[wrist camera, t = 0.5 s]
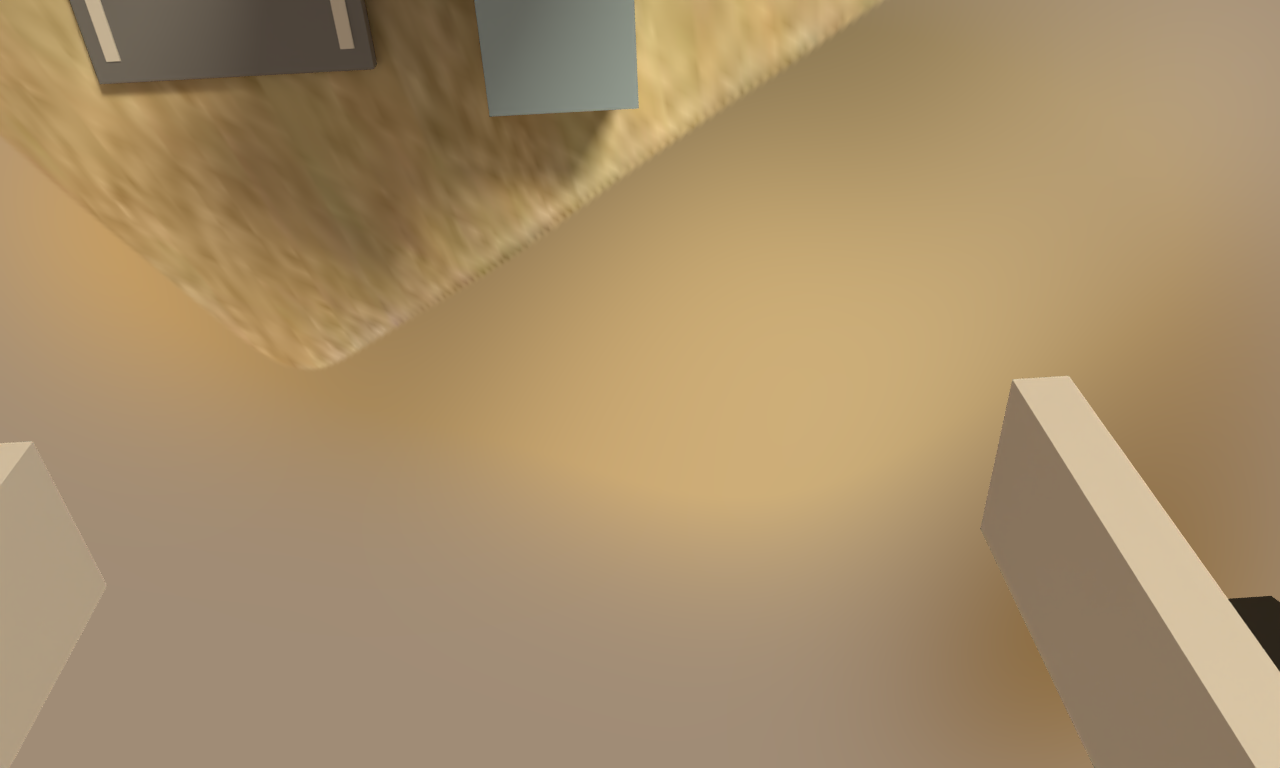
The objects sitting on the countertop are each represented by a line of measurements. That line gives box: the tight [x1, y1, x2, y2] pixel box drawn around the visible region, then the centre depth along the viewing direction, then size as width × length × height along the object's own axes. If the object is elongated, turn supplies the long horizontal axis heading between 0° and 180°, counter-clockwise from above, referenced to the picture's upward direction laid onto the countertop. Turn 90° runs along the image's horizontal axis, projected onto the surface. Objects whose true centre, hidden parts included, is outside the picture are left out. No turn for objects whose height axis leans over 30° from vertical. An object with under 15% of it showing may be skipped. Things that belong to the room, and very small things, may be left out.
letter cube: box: [474, 0, 639, 117], centre depth 33 cm, size 5×5×5 cm
